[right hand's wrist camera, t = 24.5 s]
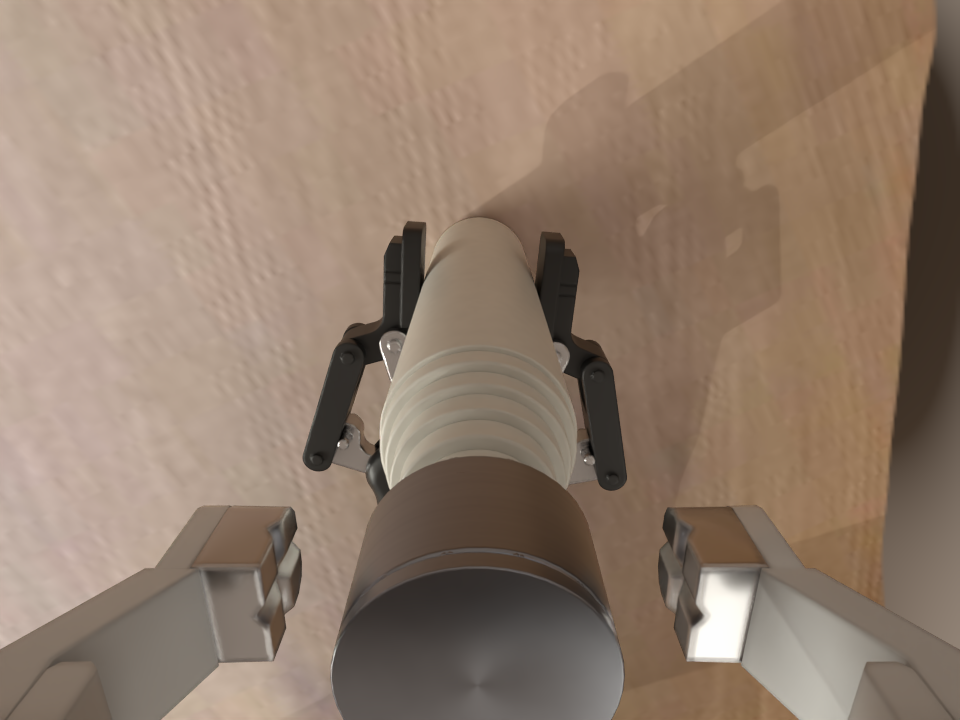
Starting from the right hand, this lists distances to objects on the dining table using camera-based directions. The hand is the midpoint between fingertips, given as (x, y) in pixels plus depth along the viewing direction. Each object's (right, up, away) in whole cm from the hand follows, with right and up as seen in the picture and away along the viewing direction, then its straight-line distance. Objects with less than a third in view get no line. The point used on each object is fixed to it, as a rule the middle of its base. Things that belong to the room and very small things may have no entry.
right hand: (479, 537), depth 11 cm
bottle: (0, +8, +19) cm, 21 cm away
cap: (0, 0, 0) cm, 0 cm away
